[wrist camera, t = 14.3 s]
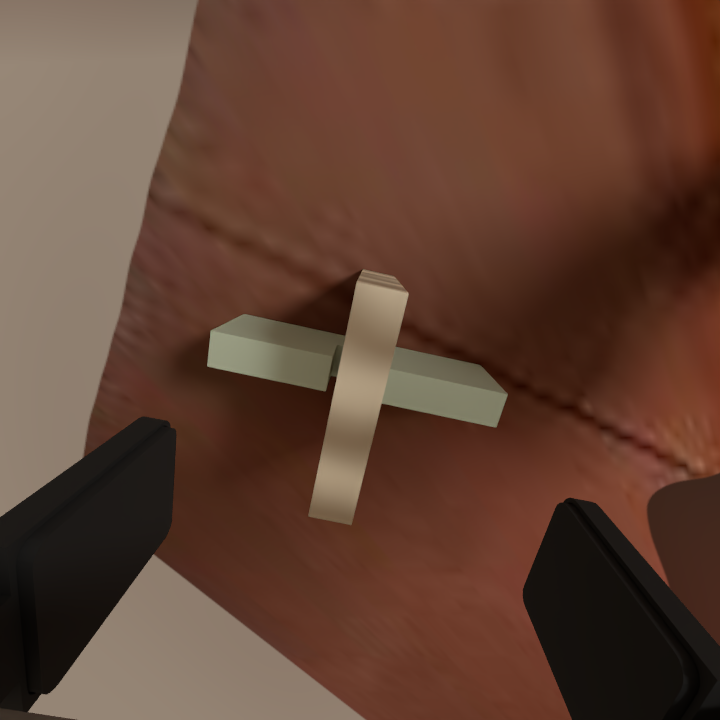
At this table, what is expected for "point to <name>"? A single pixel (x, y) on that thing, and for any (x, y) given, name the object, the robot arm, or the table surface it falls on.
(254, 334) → the slotted base
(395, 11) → the table surface
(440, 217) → the table surface
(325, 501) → the maple plate
